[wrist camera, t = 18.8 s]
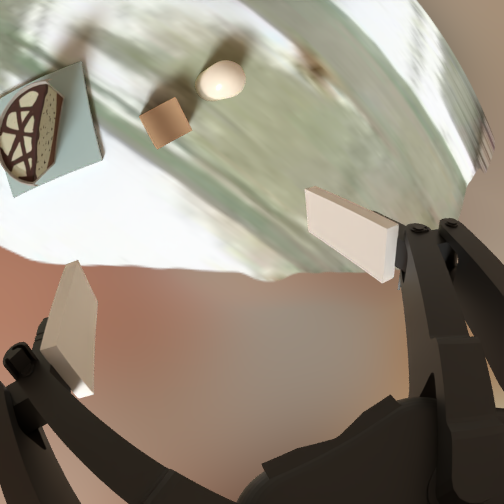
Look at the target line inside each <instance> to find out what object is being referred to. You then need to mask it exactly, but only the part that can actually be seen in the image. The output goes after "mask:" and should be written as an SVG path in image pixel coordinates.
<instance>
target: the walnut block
mask: <svg viewBox="0 0 504 504" xmlns="http://www.w3.org/2000/svg"><path fill="white" fill-rule="evenodd" d="M139 118H140V119H141V121H142V123H143V125H144V127H145V129H146V131H147V133H148V135H149V136H150V138H151V140H152V142H153V144H154V146H155V147H156V148H157V149H159V148H161V147H163V146H164V145H166V144H168V143H170V142H171V141H173V140H175V139H177V138H179V137H181V136H183V135H184V134H186V133H188V132H190V131H192V129H191V127H190V125H189V123H188V121H187V119H186V117H185V115H184V113H183V111H182V109H181V107H180V105H179V103H178V101H177V99H176V97H174V98H172V99H170V100H168V101H166V102H164V103H162V104H160V105H159V106H157V107H155V108H153V109H151V110H149V111H147V112H146V113H144V114H142V115H140V116H139Z"/></svg>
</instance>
